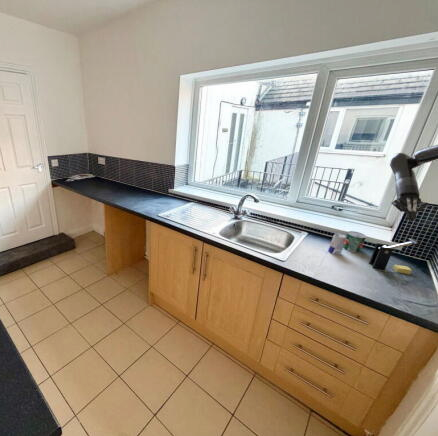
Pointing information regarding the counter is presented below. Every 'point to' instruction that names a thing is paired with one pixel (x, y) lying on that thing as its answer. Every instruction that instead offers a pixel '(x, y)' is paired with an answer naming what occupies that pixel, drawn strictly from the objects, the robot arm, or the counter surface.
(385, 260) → the slicer
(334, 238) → the energy drink
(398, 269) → the butter
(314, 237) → the counter surface
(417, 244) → the blade
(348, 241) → the canned tomato
